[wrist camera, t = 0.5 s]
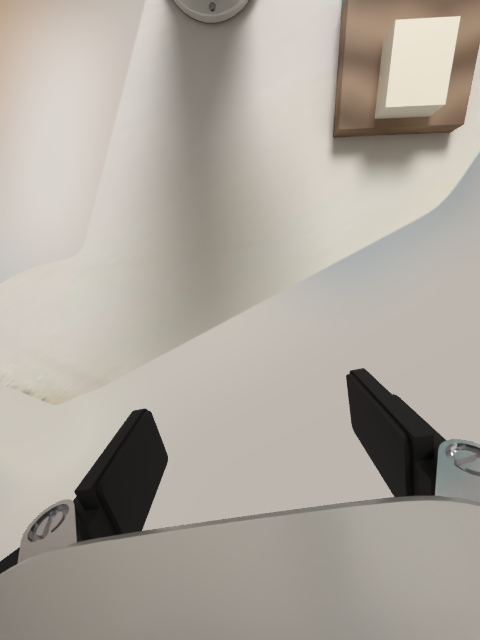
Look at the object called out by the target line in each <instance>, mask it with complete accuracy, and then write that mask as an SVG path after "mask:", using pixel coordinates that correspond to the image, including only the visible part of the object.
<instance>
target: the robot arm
mask: <svg viewBox="0 0 480 640" xmlns="http://www.w3.org/2000/svg"><path fill="white" fill-rule="evenodd" d="M173 1H174V2H175V3H176V4H177V5H178V7H179V8H180V9H181V10H182V11H184V12H185V13H186V14H187V15H188V16H190V17H192V18H194V19H196V20H199V21H202V22H206V23H217V22H221V21H225V20H227V19H229V18H231V17H233V16H235V15H236V14H237V13H238V12H239V11H241V10H242V9H243V8H244V6H245V5H246V4H247V3H248V1H249V0H173ZM346 379H347V388H348V397H349V404H350V414H351V423H352V427H353V430H354V432H355V434H356V435H357V437H358V439H359V440H360V442H361V444H362V445H363V447H364V448H365V450H366V452H367V453H368V455H369V456H370V458H371V460H372V461H373V463H374V465H375V466H376V468H377V469H378V471H379V472H380V474H381V476H382V477H383V479H384V481H385V482H386V484H387V485H388V487H389V489H390V490H391V492H392V494H393V495H394V497H391V498H382V499H373V500H364V501H356V502H348V503H339V504H332V505H324V506H317V507H309V508H302V509H294V510H287V511H280V512H273V513H265V514H257V515H250V516H243V517H236V518H229V519H222V520H215V521H208V522H201V523H193V524H187V525H180V526H173V527H166V528H160V529H153V530H146V531H142V529H143V526H144V523H145V521H146V518H147V516H148V513H149V510H150V507H151V505H152V502H153V500H154V497H155V494H156V492H157V489H158V486H159V484H160V481H161V478H162V476H163V473H164V470H165V468H166V465H167V462H168V456H167V453H166V450H165V447H164V444H163V442H162V439H161V436H160V434H159V431H158V429H157V426H156V423H155V421H154V418H153V416H152V413H151V412H150V411H148V410H147V409H140V410H135V411H133V412H132V413H131V414H130V416H129V417H128V418H127V420H126V421H125V422H124V424H123V425H122V427H121V428H120V429H119V431H118V432H117V433H116V435H115V436H114V438H113V439H112V440H111V442H110V443H109V444H108V446H107V447H106V449H105V450H104V452H103V453H102V454H101V456H100V457H99V458H98V460H97V461H96V462H95V464H94V465H93V467H92V468H91V469H90V471H89V472H88V473H87V475H86V476H85V478H84V479H83V480H82V482H81V483H80V484H79V486H78V487H77V489H76V490H75V494H76V495H77V496H76V498H75V499H74V501H71V500H62V501H59V502H57V503H55V504H53V505H51V506H50V507H48V508H47V509H46V510H44V511H43V512H42V513H41V514H40V515H38V516H37V517H36V519H34V521H33V522H32V523H31V524H30V525H29V526H28V528H27V529H26V531H25V532H24V534H23V537H22V540H21V545H20V548H18V549H17V550H15V551H14V552H13V553H11V554H10V555H9V556H7V557H6V558H4V559H3V560H2V561H1V562H0V640H480V444H477V443H474V442H471V441H466V440H461V439H451V440H447V441H446V440H445V439H444V438H443V437H442V436H441V435H440V434H439V433H437V432H436V431H435V430H434V429H433V428H432V427H431V426H430V425H429V424H428V423H427V422H426V421H425V420H423V419H422V418H421V417H420V416H419V415H418V414H417V413H416V412H415V411H414V410H413V409H411V408H410V407H409V406H408V405H407V404H406V403H405V402H404V401H403V400H401V398H399V397H398V396H397V395H394V394H393V395H392V394H391V393H390V392H389V391H388V390H386V389H385V388H384V387H383V386H382V385H381V384H380V383H379V382H378V381H377V380H376V379H375V378H374V377H373V376H372V375H371V374H370V373H369V372H367V371H366V370H365V369H364V368H362V369H357V370H351V371H350V374H348V375H347V376H346Z"/></svg>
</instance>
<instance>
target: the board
mask: <svg viewBox="0 0 480 640" xmlns="http://www.w3.org/2000/svg"><path fill="white" fill-rule="evenodd" d="M453 16H461V17H460V23H459V29H458V35H457V40H456V46H455V52H454V58H453V64H452V69H451V75H450V81H449V87H448V92H447V98H446V104H445V105H444V106H443V107H442V108H440V109H439V110H438V111H436V112H435V113H434V114H432V115H431V116H428V117H405V118H383V119H375V110H376V101H377V92H378V82H379V73H380V64H381V54H382V45H383V39H384V37H385V36H386V34H387V33H388V31H389V29H390V28H391V26H392V25H393V23H394V22H395V20H399V19H417V18H435V17H453ZM479 44H480V0H344V3H343V8H342V16H341V31H340V46H339V60H338V75H337V89H336V104H335V118H334V133H333V137H348V136H371V135H395V134H418V133H442V132H452V131H453V130H455V129H457V128H458V127H460V126H462V125H463V124H464V121H465V116H466V110H467V105H468V100H469V95H470V90H471V85H472V80H473V74H474V69H475V64H476V59H477V54H478V49H479Z"/></svg>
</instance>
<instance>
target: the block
mask: <svg viewBox="0 0 480 640" xmlns="http://www.w3.org/2000/svg"><path fill="white" fill-rule="evenodd" d="M460 17H461V16H453V17H435V18H417V19H399V20H395V22H394V23H393V25H392V26H391V28H390V29H389V31H388V33H387V34H386V36H385V37H384V39H383V45H382V54H381V64H380V73H379V82H378V92H377V101H376V110H375V119H383V118H405V117H428V116H431V115H432V114H434V113H435V112H436V111H438V110H439V109H440V108H442V107H443V106H444V105H445V104H446V98H447V92H448V87H449V81H450V75H451V69H452V64H453V58H454V52H455V46H456V40H457V35H458V29H459V23H460Z"/></svg>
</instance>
